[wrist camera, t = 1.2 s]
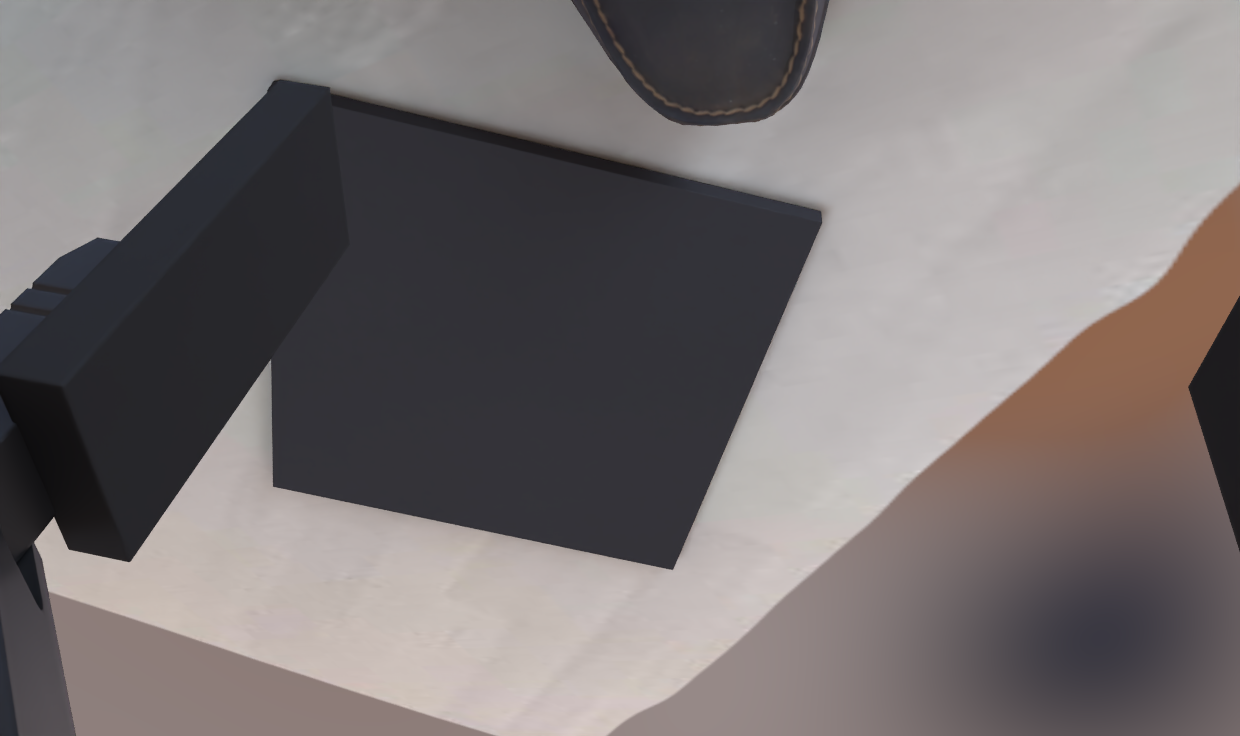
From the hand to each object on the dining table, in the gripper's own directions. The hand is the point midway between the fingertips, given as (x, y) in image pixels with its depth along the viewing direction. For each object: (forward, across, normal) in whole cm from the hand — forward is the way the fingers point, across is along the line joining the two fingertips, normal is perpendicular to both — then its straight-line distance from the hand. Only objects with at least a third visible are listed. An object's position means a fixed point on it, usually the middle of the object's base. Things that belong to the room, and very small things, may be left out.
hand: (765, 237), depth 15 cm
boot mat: (+23, -10, -24) cm, 35 cm away
